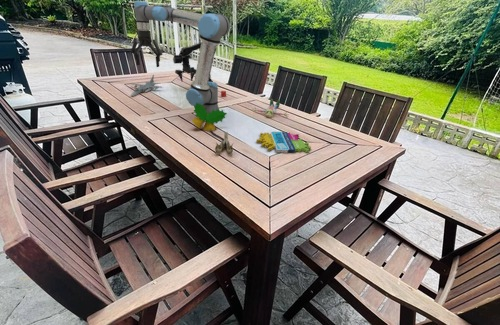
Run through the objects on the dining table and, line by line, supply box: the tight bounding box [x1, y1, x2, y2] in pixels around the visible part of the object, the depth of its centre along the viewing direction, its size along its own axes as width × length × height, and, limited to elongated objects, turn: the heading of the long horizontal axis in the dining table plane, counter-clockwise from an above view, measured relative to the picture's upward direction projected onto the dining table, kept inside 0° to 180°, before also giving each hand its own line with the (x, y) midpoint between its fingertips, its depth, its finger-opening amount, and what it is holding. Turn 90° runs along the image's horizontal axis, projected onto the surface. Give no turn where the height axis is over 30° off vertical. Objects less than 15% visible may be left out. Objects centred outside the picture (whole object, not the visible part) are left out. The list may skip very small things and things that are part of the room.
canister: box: [220, 90, 227, 98], centre depth 230 cm, size 4×4×4 cm
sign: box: [256, 131, 312, 154], centre depth 152 cm, size 26×2×30 cm
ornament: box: [191, 102, 228, 132], centre depth 162 cm, size 21×8×15 cm, turn 105°
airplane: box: [128, 74, 161, 97], centre depth 228 cm, size 38×31×10 cm
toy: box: [251, 98, 290, 118], centre depth 199 cm, size 28×7×30 cm
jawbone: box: [214, 131, 234, 156], centre depth 136 cm, size 9×15×10 cm
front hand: (148, 65), depth 173 cm, fingers open, 13 cm apart
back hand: (186, 81), depth 235 cm, fingers open, 9 cm apart
